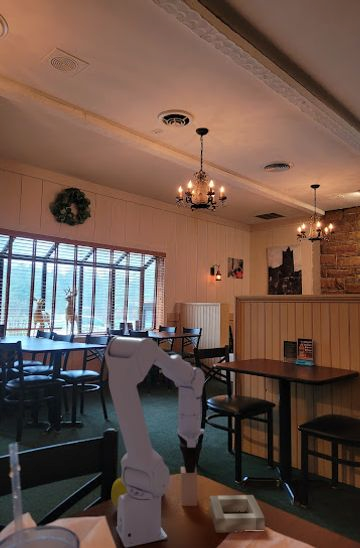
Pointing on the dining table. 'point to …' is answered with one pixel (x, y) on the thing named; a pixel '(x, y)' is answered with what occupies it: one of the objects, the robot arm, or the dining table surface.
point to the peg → (188, 488)
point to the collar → (236, 521)
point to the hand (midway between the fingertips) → (188, 466)
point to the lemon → (118, 491)
